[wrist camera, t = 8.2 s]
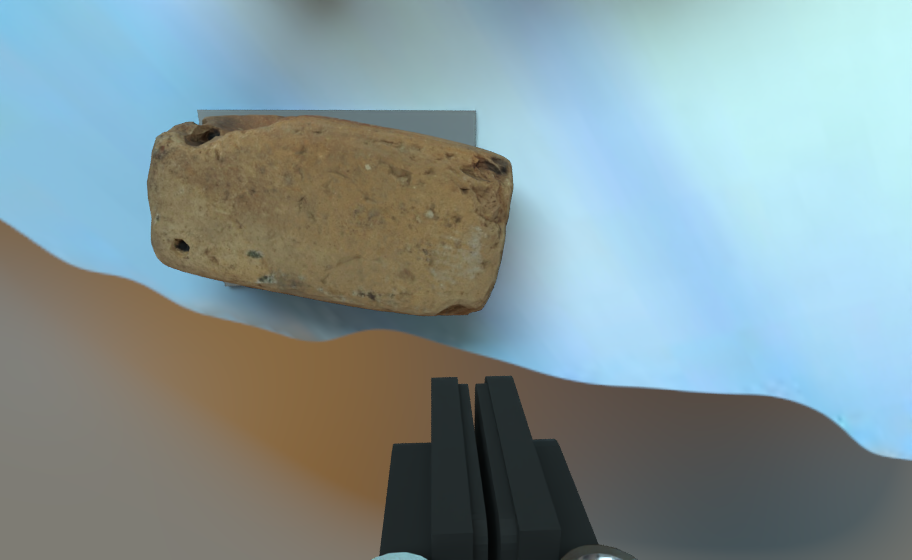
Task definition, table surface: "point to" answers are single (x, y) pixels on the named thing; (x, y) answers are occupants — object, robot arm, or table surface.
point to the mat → (384, 122)
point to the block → (331, 211)
